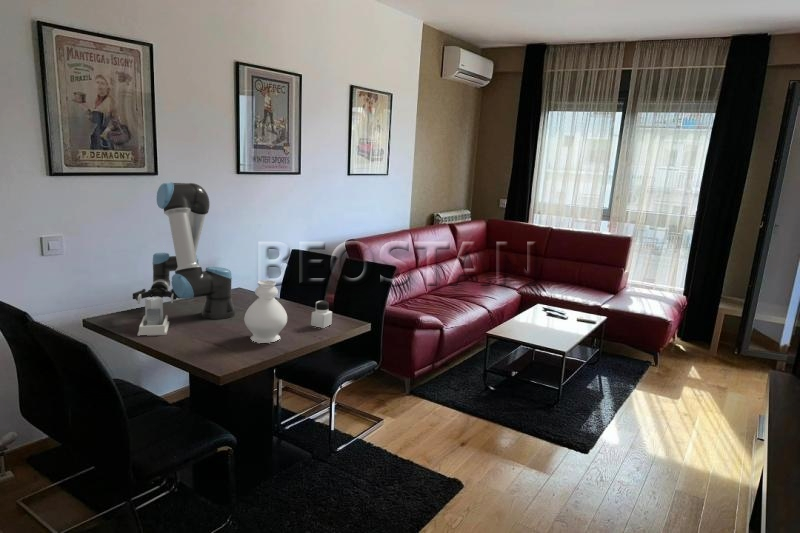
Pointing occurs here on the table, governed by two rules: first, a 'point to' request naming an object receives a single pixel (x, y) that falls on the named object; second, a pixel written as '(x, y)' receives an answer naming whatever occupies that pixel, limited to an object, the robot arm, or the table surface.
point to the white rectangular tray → (153, 328)
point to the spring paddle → (153, 317)
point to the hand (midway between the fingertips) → (155, 300)
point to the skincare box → (154, 305)
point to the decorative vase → (265, 314)
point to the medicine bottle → (321, 315)
